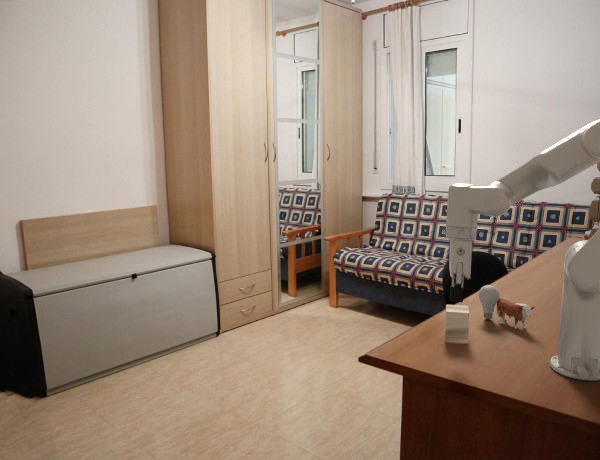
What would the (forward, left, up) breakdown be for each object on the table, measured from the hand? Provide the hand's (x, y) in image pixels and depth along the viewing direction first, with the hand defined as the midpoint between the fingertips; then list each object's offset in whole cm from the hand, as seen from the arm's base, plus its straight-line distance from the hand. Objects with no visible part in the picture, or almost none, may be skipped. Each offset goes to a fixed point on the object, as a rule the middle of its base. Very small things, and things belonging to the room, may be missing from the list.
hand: (456, 300), depth 133 cm
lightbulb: (+26, -11, -14) cm, 31 cm away
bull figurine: (+22, -18, -14) cm, 31 cm away
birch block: (+8, -1, -14) cm, 16 cm away
